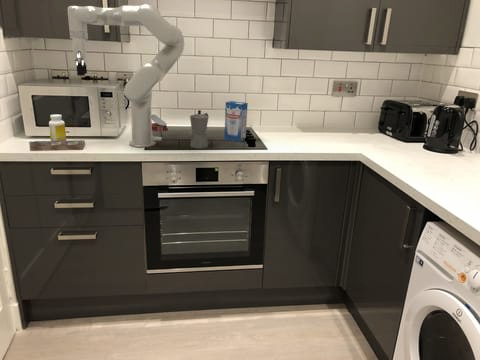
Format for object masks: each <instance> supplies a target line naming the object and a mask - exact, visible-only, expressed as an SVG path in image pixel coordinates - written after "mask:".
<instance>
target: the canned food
mask: <svg viewBox="0 0 480 360" xmlns="http://www.w3.org/2000/svg"><path fill="white" fill-rule="evenodd" d="M151 118H152V132H165V131H167V122H165V121H164V120H163V119H161V118H160V117H158V116H157V115H156V114H152V113H151Z"/></svg>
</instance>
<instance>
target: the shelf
mask: <svg viewBox="0 0 480 360" xmlns="http://www.w3.org/2000/svg"><path fill="white" fill-rule="evenodd" d="M28 144H29V150H30V151H31V152H39V151H43V150H44V151H73V150H74V151H75V150H76V151H78V150H79V151H80V150H81V151H82V150H84V147H85V144H86V141H85V139H77V140H76V139H74V140H70V139H69V140H68V139H66V141H51V140H34V141H33V140H32V141H29V142H28Z"/></svg>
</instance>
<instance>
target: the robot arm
mask: <svg viewBox="0 0 480 360" xmlns="http://www.w3.org/2000/svg"><path fill="white" fill-rule="evenodd" d="M67 17H68V18H67V19H68V28H69V39H71V40H72V56H73V57H72V60H73V62H74V63H75V62H76V75H77V76H78V77H79V76H81V77H82V76H85V75H86V74H88V70H87V64H86V63H87V62H86V61H87V44H86V43H87V42H86V40H89V36H88V24H89V25H95V26H96V25H97V26H121V27H144V28H145V29H147V31H148V32H149V33H151V34H152V35H153V36H154V37H155V38H156V40H158V41H159V42H161V43H162V44H163V45H164V46H163V48H162V49H160V51H159V52H158V53H157V55H155V56H154V57H153V59H151V61H149V62H148V61H147V62H146V63H143V65H141V66H140V67H139V69H138V70H137V71H136V72H135V74H134V75H132V77H131V78H130V79H129V80H128V81H127V83H126V84H125V86H124V95H125V97H126V99H127V100H128V101H130V115H131V117H130V118H131V119H130V120H131V121H130V122H131V138H132V140H130V141H129V142H128V143H129V144H128V145H129V146H131V147H133V148H134V147H135V148H149V147H150V148H151V147H154V146H155V145H156V142H157V141H158V142H162V136H155V135H154V134H153V131H152V123H153V120H152V118H151V115H152V95H153V90H152V89H153V88H154V87H155V85H157V84H158V83H160V82H161V81H162V80H163V79H164V77H166V74H168V73H169V72H170V70H171V69H172V68H173V67H174V65H175V64H176V63H177V61H179V59H180V58H181V56H182V54H183V52H184V48H185V39H184V38H185V37H184V35H183V32H182V30H181V29H180V28H179V26H176V25H174V24H171V23H170V22H168V20H166V18H165V17H164V16H162V15H161V12H160V10H159V8H158V7H156V6H154V5H151V4H148V3H147V4H146V3H145V4H141V5H131V4H130V5H125V4H124V5H121V6H119V7H98V6H92V5H85V6H80V5H79V6H78V5H69V6H68V7H67Z"/></svg>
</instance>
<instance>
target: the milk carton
mask: <svg viewBox="0 0 480 360" xmlns="http://www.w3.org/2000/svg"><path fill="white" fill-rule="evenodd" d="M248 104H249V102H241V101H234V100H230V101H229V100H228V101H226V102H225V109H224V110H225V112H224V113H225V114H224V137H223V138H224V140H226V141H230V142H231V141H232V142H236V141H239V142H238V143H242V142H244V141H246V140H245V138H246V139H247V123H248V122H247V121H248V119H247V118H248ZM243 140H244V141H243ZM241 141H242V142H241Z"/></svg>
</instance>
